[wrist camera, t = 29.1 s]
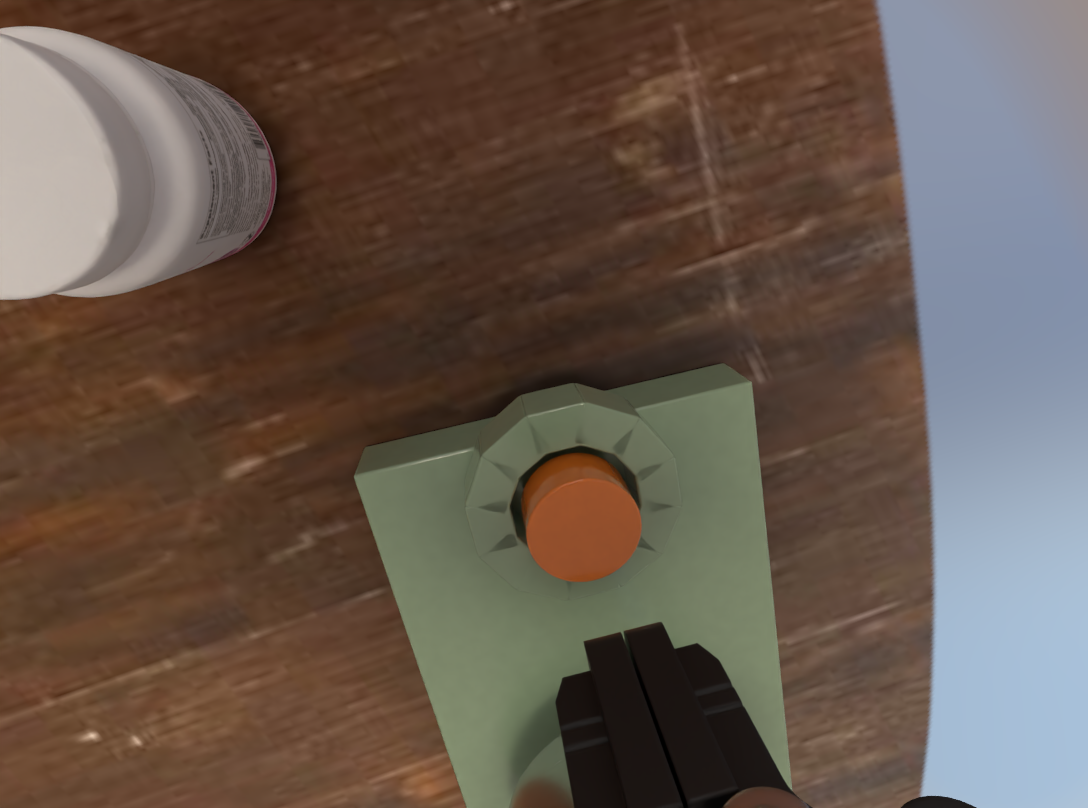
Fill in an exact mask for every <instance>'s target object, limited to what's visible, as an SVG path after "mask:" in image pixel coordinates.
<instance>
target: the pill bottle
mask: <svg viewBox="0 0 1088 808" xmlns="http://www.w3.org/2000/svg"><path fill="white" fill-rule="evenodd" d="M276 189H277V177H276V169H275V163H274V159H273V155H272V152H271V149H270V146H269V144H268V142H267V140H266V138H265V136H264V134H263V132H262V131H261V129H260V128H259V126H258V124H257V123H256V122H255V120H254V119H253V118H252V117H251V115H250V114H249V113H248V112H247V111H246V110H245V109H244V108H243V107H242V106H241V105H240V104H239V103H238V102H237V101H236V100H234V99H233V98H232V97H231V96H229V95H228V94H226V93H225V92H223V91H222V90H220V89H219V88H217V87H215V86H214V85H212V84H210V83H208V82H206V81H203V80H201V79H199V78H196V77H193V76H190V75H187V74H184V73H181V72H178V71H176V70H173V69H170V68H168V67H165V66H163V65H160V64H157V63H155V62H152V61H149V60H147V59H144V58H142V57H139V56H137V55H134V54H131V53H129V52H126V51H124V50H121V49H118V48H116V47H113V46H111V45H108V44H105V43H102V42H100V41H97V40H94V39H92V38H89V37H86V36H82V35H79V34H75V33H71V32H66V31H62V30H58V29H52V28H46V27H32V26H19V27H8V28H1V29H0V300H19V299H29V298H36V297H41V296H45V295H49V294H59V295H65V296H73V297H102V296H110V295H117V294H121V293H126V292H130V291H133V290H136V289H140V288H143V287H146V286H149V285H152V284H155V283H157V282H160V281H163V280H166V279H169V278H172V277H174V276H177V275H180V274H183V273H185V272H188V271H191V270H194V269H197V268H199V267H202V266H205V265H207V264H210V263H213V262H216V261H219V260H221V259H224V258H226V257H229V256H231V255H233V254H235V253H237V252H239V251H240V250H242V249H244V248H245V247H246V246H248V245H249V244H250V243H251V242H253V241H254V240H255V239H256V238H257V237H258V235H259V234H260V233H261V232H262V230H263V229H264V227H265V226H266V224H267V222H268V220H269V218H270V215H271V213H272V210H273V206H274V202H275V196H276Z"/></svg>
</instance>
